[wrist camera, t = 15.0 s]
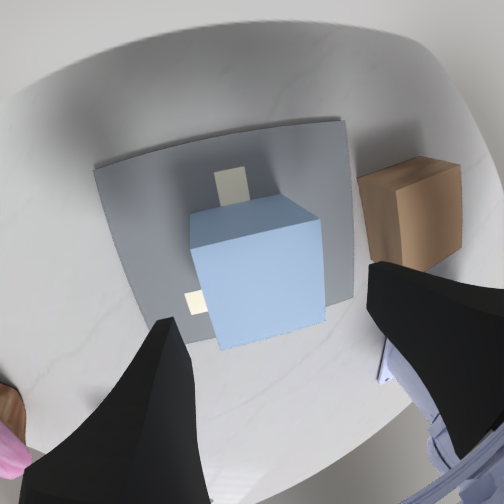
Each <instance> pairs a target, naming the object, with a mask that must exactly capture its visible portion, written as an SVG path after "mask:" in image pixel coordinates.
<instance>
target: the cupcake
mask: <svg viewBox="0 0 504 504" xmlns="http://www.w3.org/2000/svg"><path fill="white" fill-rule="evenodd" d="M25 432H26V410H25V407H24V404H23V402H22V399H21V397H20V395H19V393H18V392H17V391H16V390H15V389H14V388H12V387H10V386H7V385H4V384H1V383H0V477H3V478H7V479H14V478H16V477H18V476H20V475H22V474H23V473H24V469H25V468H26V467H28V466H30V465H31V460H32V458H31V453H30V452H29V449H28V448H27V447H26V441H25Z"/></svg>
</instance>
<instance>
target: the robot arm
mask: <svg viewBox="0 0 504 504" xmlns="http://www.w3.org/2000/svg"><path fill="white" fill-rule="evenodd" d="M366 309H367V310H368V312H369V314H370V315H371V317H372V319H373V320H374V322H375V323H376V325H377V326H378V328H379V329H380V330H381V331H382V332H383V334H384V335H385V336H386V337H387V340H386V345H385V350H384V355H383V360H382V364H381V369H380V373H379V377H378V383H379V384H383V383H385V382H387V381H390V380H392V379H393V378H395V379H396V380H397V381H398V383H399V384H400V385H401V386H402V388H403V389H404V390H405V392H406V393H407V394H408V395H409V397H410V398H411V399H412V401H413V402H414V403H415V405H416V406H417V407H418V409H419V410H420V411H421V413H422V414H423V415H424V417H425V418H426V419H427V421H428V422H429V423H430V424H431V426H430V427H429V428H428V429H427V430H428V432H429V433H430V434H431V436H430V437H429V438H428V440H427V454H428V457H429V459H430V461H431V463H432V464H433V466H434V468H435V469H436V470H437V472H438V473H439V474H440V475H441V477H439V478H438V479H437V480H435V481H434V482H432V483H431V484H429V485H428V486H426V487H425V488H423V489H422V490H420V491H418V492H417V493H415V494H414V495H412V496H410V497H408V498H407V499H405V500H403V501H401V502H400V503H398V504H434V503H436V502H437V501H438V500H440V499H441V498H443V497H444V496H446V495H447V494H448V493H450V492H451V491H452V490H454V489H455V488H456V487H457V488H458V489H459V490H460V492H459V496H460V497H461V499H462V500H461V501H460V502H459V503H457V504H504V289H496V288H487V287H481V286H475V285H470V284H465V283H460V282H456V281H452V280H449V279H445V278H441V277H438V276H434V275H431V274H428V273H425V272H421V271H418V270H415V269H412V268H408V267H405V266H402V265H398V264H395V263H391V262H386V261H379V262H376V263H373V264H370V265H369V274H368V293H367V308H366ZM19 504H211V503H210V499H209V496H208V492H207V488H206V484H205V479H204V475H203V471H202V466H201V461H200V456H199V450H198V443H197V430H196V406H195V382H194V375H193V369H192V362H191V358H190V355H189V353H188V351H187V348H186V346H185V344H184V341H183V339H182V336H181V334H180V332H179V329H178V327H177V324H176V322H175V319H174V316H173V317H169V318H164V319H160V320H157V321H156V322H155V324H154V325H153V327H152V329H151V330H150V332H149V334H148V335H147V337H146V339H145V340H144V342H143V344H142V345H141V347H140V349H139V350H138V352H137V354H136V355H135V357H134V358H133V360H132V362H131V363H130V365H129V366H128V368H127V369H126V371H125V372H124V374H123V375H122V377H121V378H120V379H119V381H118V382H117V384H116V385H115V387H114V388H113V389H112V390H111V392H110V393H109V394H108V396H107V397H106V398H105V399H104V400H103V402H102V403H101V404H100V405H99V406H98V408H97V409H96V410H95V411H94V412H93V413H92V414H91V415H90V416H89V417H88V418H87V419H86V420H85V421H84V422H83V423H82V424H81V425H80V426H79V427H78V428H77V429H76V430H75V431H74V432H73V433H72V434H71V435H70V436H69V437H67V438H66V439H65V440H64V441H63V442H62V443H60V444H59V445H58V446H57V447H55V448H54V449H53V450H52V451H50V452H49V453H47V454H46V455H44V456H43V457H42V458H40V459H39V460H37V461H36V462H34V463H33V464H31V465H30V466H28V467H26V468H25V469H24V474H23V480H22V486H21V491H20V498H19Z"/></svg>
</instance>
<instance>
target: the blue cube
mask: <svg viewBox="0 0 504 504" xmlns="http://www.w3.org/2000/svg"><path fill="white" fill-rule="evenodd" d="M190 251H191V254H192V258H193V262H194V265H195V269H196V272H197V276H198V279H199V283H200V286H201V289H202V293H203V296H204V299H205V303H206V306H207V309H208V312H209V316H210V319H211V322H212V325H213V328H214V331H215V334H216V337H217V340H218V343H219V346H220V349H221V350H225V349H229V348H233V347H237V346H241V345H245V344H249V343H253V342H257V341H260V340H264V339H268V338H271V337H275V336H278V335H282V334H285V333H288V332H292V331H295V330H298V329H302V328H305V327H308V326H311V325H314V324H317V323H321V322H324V321H326V320H325V284H324V263H323V246H322V232H321V219H320V218H318V217H317V216H315V215H314V214H312V213H311V212H309V211H307V210H306V209H304V208H303V207H301V206H300V205H298V204H297V203H295V202H293V201H292V200H290V199H289V198H287V197H285V196H284V195H282V194H278V195H273V196H268V197H263V198H258V199H253V200H249V201H244V202H239V203H235V204H230V205H226V206H221V207H217V208H213V209H208V210H204V211H200V212H196V213H192V214H190Z"/></svg>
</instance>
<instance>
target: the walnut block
mask: <svg viewBox="0 0 504 504" xmlns="http://www.w3.org/2000/svg"><path fill="white" fill-rule="evenodd" d="M357 182H358V186H359V191H360V196H361V201H362V207H363V212H364V218H365V224H366V230H367V236H368V243H369V250H370V258H371V260H372V261H373V262H375V263H376V262H379V261H386V262H391V263H395V264H398V265H402V266H405V267H408V268H412V269H415V270H418V271H421V272H425V271H426V270H428V269H430V268H431V267H433V266H434V265H436V264H437V263H439V262H441V261H442V260H444V259H445V258H447V257H448V256H450V255H451V254H453V253H454V252H456V251H457V250H459V249H460V248H462V186H461V172H460V165H458V164H454V163H450V162H446V161H441V160H436V159H432V158H427V157H422V156H420V157H417V158H414V159H411V160H408V161H405V162H402V163H399V164H396V165H394V166H391V167H388V168H385V169H382V170H379V171H376V172H373V173H371V174H368V175H365V176H362V177H359V178H357Z"/></svg>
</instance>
